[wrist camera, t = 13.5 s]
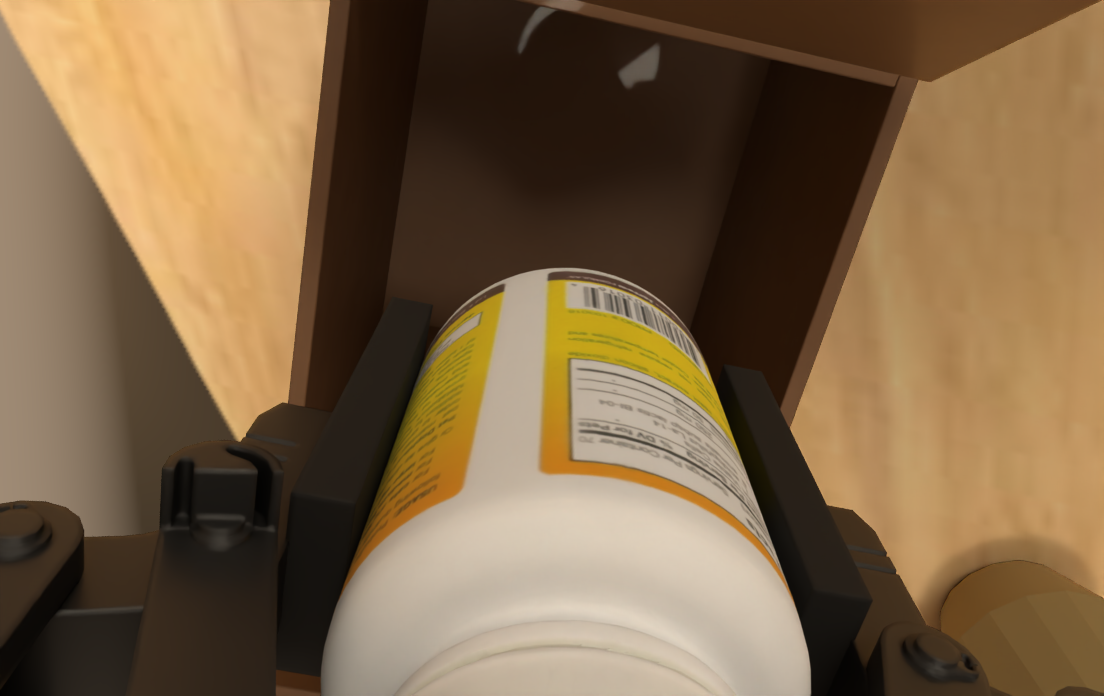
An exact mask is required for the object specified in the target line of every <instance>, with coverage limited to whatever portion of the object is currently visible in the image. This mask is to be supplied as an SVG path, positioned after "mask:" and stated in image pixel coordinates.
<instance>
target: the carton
mask: <svg viewBox="0 0 1104 696" xmlns="http://www.w3.org/2000/svg"><path fill="white" fill-rule="evenodd" d="M917 82H918V79H914V78H909V77H905V76H901V75H896V74H892V73H888V72H883V71H879V70H875V69H871V68H866V67H862V66H858V65H853V64H849V63H845V62H840V61H836V60H832V59H827V58H823V57H819V56H814V55H810V54H806V53H802V52H797V51H793V50H789V49H784V48H780V47H776V46H771V45H767V44H763V43H758V42H754V41H750V40H745V39H741V38H737V37H733V36H728V35H724V34H720V33H715V32H711V31H707V30H702V29H698V28H694V27H689V26H685V25H681V24H676V23H672V22H668V21H664V20H659V19H655V18H651V17H646V16H642V15H638V14H633V13H629V12H625V11H620V10H616V9H612V8H607V7H603V6H599V5H595V4H590V3H586V2H582V1H577V0H330V7H329V17H328V26H327V36H326V46H325V55H324V65H323V74H322V84H321V93H320V103H319V113H318V122H317V132H316V141H315V151H314V160H313V170H312V180H311V189H310V199H309V208H308V218H307V227H306V237H305V247H304V256H303V266H302V275H301V285H300V294H299V304H298V314H297V323H296V333H295V342H294V352H293V361H292V371H291V381H290V390H289V400H288V404H293V405H298V406H303V407H309V408H314V409H319V410H324V411H329V412H333V410H334V408H335V406H336V404H337V402H338V400H339V398H340V397H341V395H342V393H343V391H344V389H345V387H346V385H347V383H348V381H349V379H350V377H351V375H352V373H353V372H354V370H355V368H356V366H357V364H358V362H359V360H360V358H361V356H362V354H363V352H364V350H365V349H366V347H367V345H368V343H369V341H370V339H371V337H372V335H373V333H374V331H375V329H376V327H377V325H378V324H379V322H380V320H381V318H382V316H383V314H384V312H385V310H386V308H387V306H388V304H389V302H390V301H391V299H392V297H397V298H402V299H407V300H412V301H417V302H422V303H427V304H432V305H433V308H432V314H431V320H430V326H429V331H428V337H427V343H426V349H425V355H424V359H425V356H426V354H427V352H428V349H429V347H430V345H431V343H432V342H433V340H434V339H435V337H436V335H437V334H438V332H439V331H440V329H441V328H442V327H443V326H444V324H445V323H446V322H447V321H448V320H449V318H450V317H451V316H452V315H453V314H454V313H455V312H456V311H457V310H458V309H459V308H460V307H461V306H462V305H463V304H464V303H466V302H467V301H468V300H469V299H471V298H472V297H474V296H475V295H477V294H478V293H480V292H481V291H483V290H484V289H486V288H488V287H490V286H492V285H493V284H495V283H497V282H500V281H502V280H505V279H507V278H510V277H513V276H515V275H518V274H522V273H526V272H530V271H535V270H542V269H549V268H579V269H588V270H593V271H599V272H603V273H606V274H610V275H613V276H616V277H619V278H622V279H624V280H627V281H629V282H631V283H633V284H635V285H637V286H639V287H641V288H643V289H644V290H646V291H648V292H649V293H651V294H652V295H654V296H655V297H656V298H658V299H659V300H660V301H662V302H663V303H664V304H665V305H666V306H667V307H668V308H669V309H670V310H672V311H673V312H674V313H675V315H676V316H677V317H678V318H679V319H680V320H681V321H682V322H683V324H684V325H685V326H686V328H687V329H688V330H689V332H690V333H691V335H692V336H693V338H694V340H695V342H696V343H697V345H698V347H699V349H700V351H701V353H702V355H703V357H704V360H705V362H706V364H707V366H708V369H709V372H710V375H711V378H712V381H713V384H714V386H715V389H716V386H717V382H718V379H719V376H720V373H721V370H722V367H723V364H727V365H731V366H736V367H741V368H746V369H751V370H756V371H761V372H762V373H763V375H764V377H765V379H766V381H767V383H768V385H769V388H770V390H771V392H772V394H773V396H774V398H775V400H776V402H777V404H778V406H779V408H780V410H781V412H782V414H783V416H784V418H785V420H786V422H787V424H788V427H789V429H790V426H791V423H792V421H793V418H794V415H795V413H796V410H797V407H798V404H799V402H800V399H801V396H802V394H803V391H804V388H805V385H806V383H807V380H808V377H809V375H810V372H811V369H812V367H813V364H814V361H815V358H816V356H817V353H818V350H819V348H820V345H821V342H822V339H823V337H824V334H825V331H826V329H827V326H828V323H829V320H830V318H831V315H832V312H833V310H834V307H835V304H836V301H837V299H838V296H839V293H840V291H841V288H842V285H843V283H844V280H845V277H846V274H847V272H848V269H849V266H850V264H851V261H852V258H853V255H854V253H855V250H856V247H857V245H858V242H859V239H860V236H861V234H862V231H863V228H864V226H865V223H866V220H867V218H868V215H869V212H870V209H871V207H872V204H873V201H874V199H875V196H876V193H877V190H878V188H879V185H880V182H881V180H882V177H883V174H884V171H885V169H886V166H887V163H888V161H889V158H890V155H891V152H892V150H893V147H894V144H895V142H896V139H897V136H898V134H899V131H900V128H901V125H902V123H903V120H904V117H905V115H906V112H907V109H908V106H909V104H910V101H911V98H912V96H913V93H914V90H915V87H916V85H917ZM276 696H321V677H317V676H311V675H305V674H299V673H293V672H287V671H281V670H276Z"/></svg>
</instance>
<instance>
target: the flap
mask: <svg viewBox="0 0 1104 696" xmlns="http://www.w3.org/2000/svg"><path fill="white" fill-rule="evenodd" d="M577 1H582V2H586V3H590V4H595V5H599V6H603V7H607V8H612V9H616V10H620V11H625V12H629V13H633V14H638V15H642V16H646V17H651V18H655V19H659V20H664V21H668V22H672V23H676V24H681V25H685V26H689V27H694V28H698V29H702V30H707V31H711V32H715V33H720V34H724V35H728V36H733V37H737V38H741V39H745V40H750V41H754V42H758V43H763V44H767V45H771V46H776V47H780V48H784V49H789V50H793V51H797V52H802V53H806V54H810V55H814V56H819V57H823V58H827V59H832V60H836V61H840V62H845V63H849V64H853V65H858V66H862V67H866V68H871V69H875V70H879V71H883V72H888V73H892V74H896V75H901V76H905V77H909V78H914V79H918V80H922V81H927V82H931V81H933V80H936V79H938V78H940V77H942V76H944V75H946V74H948V73H950V72H952V71H954V70H957V69H959V68H961V67H963V66H965V65H967V64H969V63H971V62H973V61H975V60H978V59H980V58H982V57H984V56H986V55H988V54H990V53H992V52H994V51H996V50H999V49H1001V48H1003V47H1005V46H1007V45H1009V44H1011V43H1013V42H1015V41H1017V40H1020V39H1022V38H1024V37H1026V36H1028V35H1030V34H1032V33H1034V32H1036V31H1038V30H1041V29H1043V28H1045V27H1047V26H1049V25H1051V24H1053V23H1055V22H1057V21H1059V20H1062V19H1064V18H1066V17H1068V16H1070V15H1072V14H1074V13H1076V12H1078V11H1080V10H1083V9H1085V8H1087V7H1089V6H1091V5H1093V4H1095V3H1097V2H1099V1H1101V0H577Z"/></svg>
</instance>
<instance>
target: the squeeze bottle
mask: <svg viewBox="0 0 1104 696" xmlns="http://www.w3.org/2000/svg"><path fill="white" fill-rule="evenodd" d="M940 616H941V632H943V633H945V634H947V635H949V636H950V637H952V638H953V639H955V640H956V641H957V642H959V643H960V644H962V645H963V646H964V647H966V648H967V649H968V650H969V651H970V652H971V653H972V654H973V656H974V657H975V658H976V659H977V660H978V661H979V662H980V664H981V666H982V668H983V670H984V672H985V674H986V676H987V678H988V682H989V686H991V687H993V688H995V689H997V690H999V691H1002V692H1004V693H1007V694H1009V695H1012V696H1054V695H1055V694H1056V692H1057V691H1058V690H1060V689H1063V688H1065V687H1067V686H1075V687H1086V688H1089V689H1092V690H1095V691H1098V692H1101V693H1104V599H1103V598H1102V597H1100V596H1098V595H1096V594H1095V593H1093V592H1091V591H1089V590H1087V589H1086V588H1084V587H1082V586H1080V585H1078V584H1077V583H1075V582H1073V581H1071V580H1070V579H1068V578H1066V577H1064V576H1062V575H1061V574H1059V573H1057V572H1055V571H1053V570H1052V569H1050V568H1048V567H1046V566H1044V565H1042V564H1036V563H1031V562H1026V561H1021V560H1017V561H1010V562H1002V563H995V564H991V565H989V566H987V567H985V568H983V569H980V570H978V571H976V572H974V573H972V574H969V575H968V576H967V577H966V578H965V579H963V580H962V581H961V582H960V583H959V584H958V585H957V586H956V587H955V588H954V589H953V590H951V591H950V593H949V595H948V597H947V599H946V601H945V603H944V605H943V607H942V609H941V611H940Z"/></svg>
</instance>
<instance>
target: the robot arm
mask: <svg viewBox="0 0 1104 696" xmlns="http://www.w3.org/2000/svg"><path fill="white" fill-rule="evenodd" d="M432 308H433V305H432V304H427V303H422V302H417V301H412V300H407V299H402V298H397V297H392V299H391V301H390V302H389V304H388V306H387V308H386V310H385V312H384V314H383V316H382V318H381V320H380V322H379V324H378V325H377V327H376V329H375V331H374V333H373V335H372V337H371V339H370V341H369V343H368V345H367V347H366V349H365V350H364V352H363V354H362V356H361V358H360V360H359V362H358V364H357V366H356V368H355V370H354V372H353V373H352V375H351V377H350V379H349V381H348V383H347V385H346V387H345V389H344V391H343V393H342V395H341V397H340V398H339V400H338V402H337V404H336V406H335V408H334V410H333V412H329V411H324V410H319V409H314V408H309V407H303V406H298V405H293V404H288V403H281V404H279V405H277V406H275V407H273V408H272V409H270V410H268V411H266V412H264V413H262V414H261V415H259V416H258V417H257V419H256V420H255V422H254V423H253V424H252V426H251V427H250V429H249V430H248V432H247V433H246V437H244V438H243V439H242V441H241V442H238V441H231V440H221V441H205V442H201V443H197V444H194V445H190V446H187V447H184V448H182V449H181V450H179V451H177V452H176V453H174V454H173V455H171V456H169V458H168V460H167V461H166V463H165V464H164V466H163V468H162V479H161V504H160V528H159V530H157V531H153V532H149V533H145V534H137V535H127V536H105V537H104V536H102V537H84V529H83V526H82V523H81V520H80V518H79V517H78V516H77V515H76V514H74V513H73V512H72V511H70V510H69V509H68V508H66V507H63V506H59V505H56V504H52V503H49V502H44V501H15V502H9V503H2V504H0V696H276V670H281V671H287V672H293V673H299V674H305V675H311V676H317V677H321V666H322V659H323V651H324V646H325V642H326V638H327V635H328V631H329V627H330V624H331V621H332V617H333V614H334V611H335V608H336V605H337V602H338V600H339V597H340V594H341V591H342V589H343V586H344V583H345V581H346V578H347V575H348V572H349V569H350V566H351V564H352V561H353V558H354V556H355V553H356V550H357V547H358V545H359V542H360V539H361V536H362V533H363V531H364V528H365V525H366V523H367V520H368V517H369V514H370V511H371V508H372V505H373V503H374V500H375V497H376V494H377V491H378V489H379V486H380V483H381V480H382V477H383V474H384V471H385V468H386V466H387V463H388V460H389V457H390V454H391V451H392V448H393V445H394V442H395V440H396V437H397V434H398V431H399V429H400V426H401V423H402V420H403V418H404V415H405V412H406V409H407V406H408V403H409V400H410V398H411V395H412V391H413V388H414V385H415V383H416V380H417V377H418V374H419V371H420V368H421V366H422V364H423V361H424V355H425V349H426V343H427V337H428V331H429V326H430V320H431V314H432ZM716 391H717V394H718V397H719V400H720V403H721V405H722V408H723V411H724V413H725V416H726V419H727V421H728V424H729V427H730V430H731V432H732V435H733V438H734V441H735V443H736V446H737V448H738V451H739V454H740V457H741V460H742V462H743V465H744V468H745V470H746V473H747V476H748V479H749V481H750V484H751V487H752V490H753V492H754V495H755V498H756V500H757V503H758V506H759V509H760V511H761V514H762V517H763V520H764V522H765V525H766V528H767V530H768V533H769V536H770V539H771V541H772V544H773V547H774V549H775V552H776V555H777V558H778V561H779V563H780V566H781V569H782V572H783V574H784V577H785V579H786V582H787V585H788V587H789V590H790V592H791V595H792V597H793V600H794V603H795V606H796V610H797V613H798V616H799V619H800V623H801V626H802V630H803V634H804V638H805V642H806V646H807V649H808V654H809V661H810V668H811V696H1012V695H1009V694H1007V693H1004V692H1002V691H999V690H997V689H995V688H993V687H991V686H989V682H988V678H987V676H986V674H985V672H984V670H983V668H982V666H981V664H980V662H979V661H978V660H977V659H976V658H975V657H974V656H973V654H972V653H971V652H970V651H969V650H968V649H967V648H966V647H964V646H963V645H962V644H960V643H959V642H957V641H956V640H955V639H953V638H952V637H950V636H949V635H947V634H945V633H943V632H941V631H939V630H937V629H934V628H932V627H930V626H928V625H926V623H925V621H924V620H923V618H922V616H921V614H920V612H919V611H918V609H917V607H916V605H915V603H914V601H913V600H912V598H911V596H910V594H909V592H908V591H907V589H906V587H905V585H904V583H903V581H902V580H901V578H900V576H899V575H896V569H895V567H894V565H893V563H892V561H891V560H890V558H889V557H886V554H887V552H886V551H885V549H884V547H883V545H882V543H881V541H880V540H879V538H878V536H877V534H876V532H875V531H874V530H873V529H872V528H871V527H870V526H869V525H868V524H867V523H866V522H864V521H863V520H862V519H861V518H860V517H859V516H858V515H857V514H856V513H855V512H854V511H853V510H849V509H844V508H838V507H833V506H828V505H826V503H825V500H824V498H823V496H822V494H821V492H820V490H819V488H818V486H817V484H816V482H815V480H814V478H813V476H812V474H811V472H810V470H809V468H808V466H807V464H806V461H805V459H804V457H803V455H802V453H801V451H800V449H799V447H798V445H797V443H796V441H795V439H794V437H793V435H792V433H791V431H790V429H789V427H788V424H787V422H786V420H785V418H784V416H783V414H782V412H781V410H780V408H779V406H778V404H777V402H776V400H775V398H774V396H773V394H772V392H771V390H770V388H769V385H768V383H767V381H766V379H765V377H764V375H763V373H762V372H761V371H756V370H751V369H746V368H741V367H736V366H731V365H727V364H723V367H722V370H721V373H720V376H719V379H718V382H717V386H716ZM1054 696H1104V693H1101V692H1098V691H1095V690H1092V689H1089V688H1086V687H1075V686H1067V687H1065V688H1063V689H1060V690H1058V691H1057V692H1056V694H1055V695H1054Z"/></svg>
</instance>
